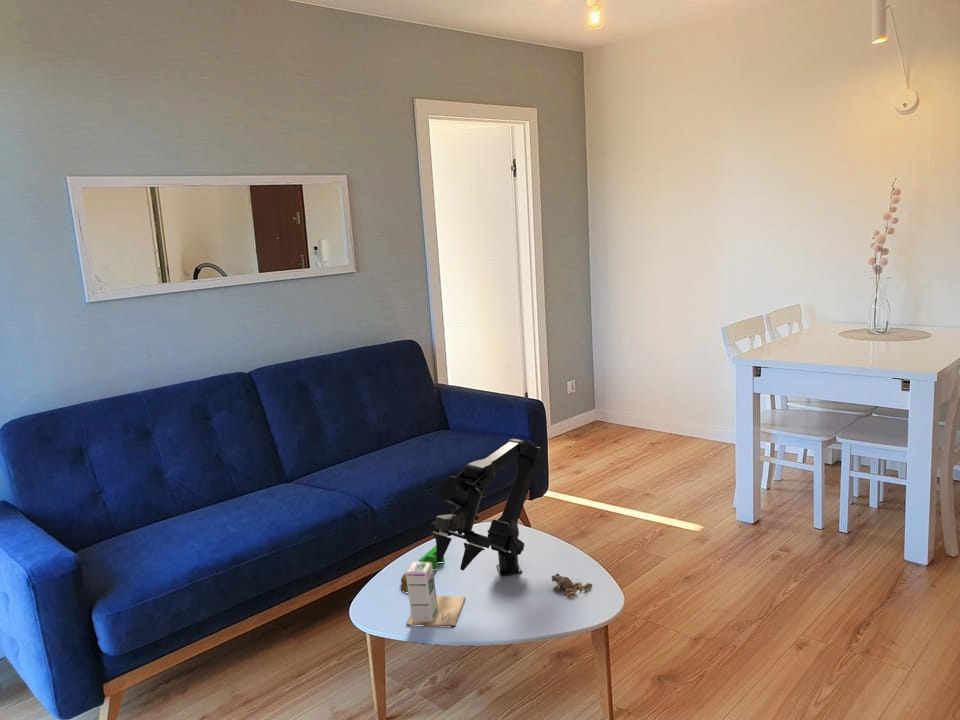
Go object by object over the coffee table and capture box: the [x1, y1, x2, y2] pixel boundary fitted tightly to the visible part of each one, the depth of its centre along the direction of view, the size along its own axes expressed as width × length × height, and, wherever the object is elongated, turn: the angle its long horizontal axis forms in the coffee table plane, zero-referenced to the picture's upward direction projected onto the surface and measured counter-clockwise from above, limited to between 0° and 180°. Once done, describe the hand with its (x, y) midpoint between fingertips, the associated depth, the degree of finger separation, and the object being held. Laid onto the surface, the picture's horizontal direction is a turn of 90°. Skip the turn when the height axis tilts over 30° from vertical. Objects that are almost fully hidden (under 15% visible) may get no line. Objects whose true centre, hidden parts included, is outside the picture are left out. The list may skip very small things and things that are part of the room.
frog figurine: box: [551, 573, 594, 599], centre depth 205 cm, size 12×12×4 cm
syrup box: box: [405, 560, 438, 622], centre depth 195 cm, size 6×6×14 cm
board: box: [405, 595, 466, 628], centre depth 200 cm, size 13×14×1 cm
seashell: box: [400, 572, 408, 592], centre depth 215 cm, size 10×4×10 cm
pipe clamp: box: [418, 545, 445, 569], centre depth 225 cm, size 11×4×5 cm, turn 152°
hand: (449, 565), depth 199 cm, fingers open, 9 cm apart
